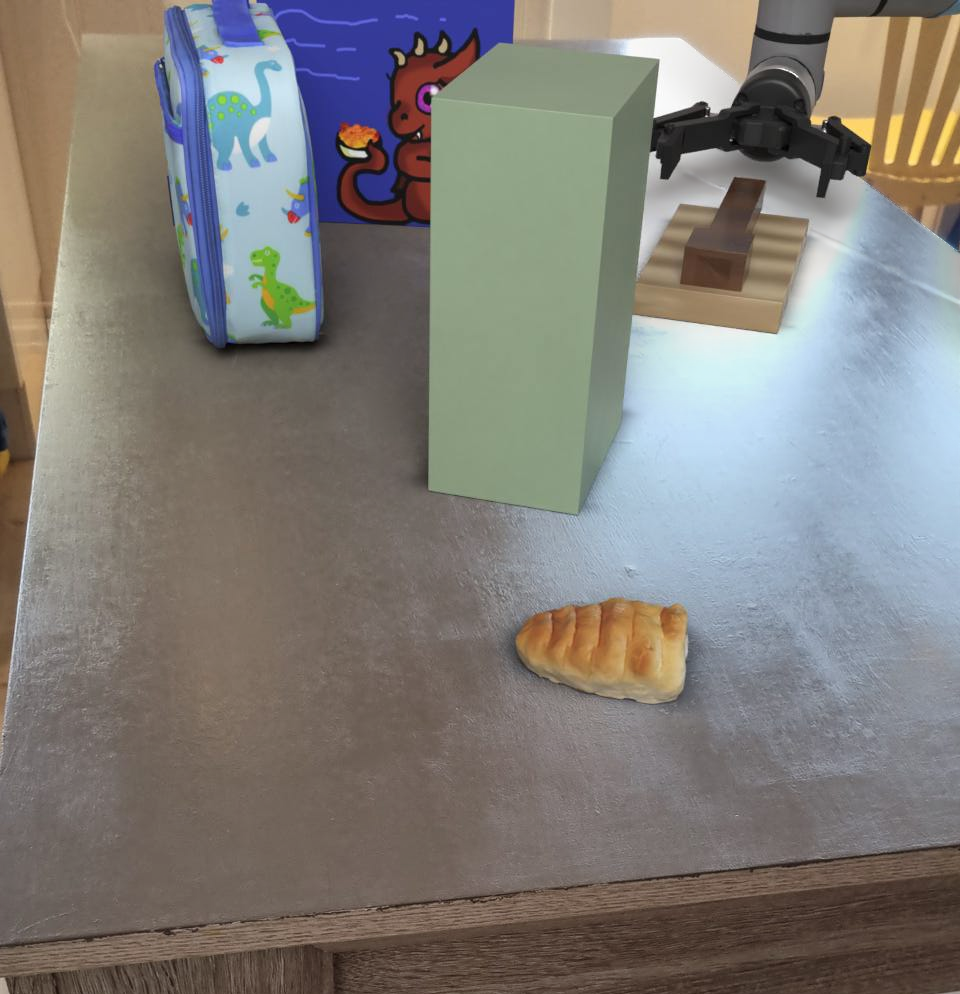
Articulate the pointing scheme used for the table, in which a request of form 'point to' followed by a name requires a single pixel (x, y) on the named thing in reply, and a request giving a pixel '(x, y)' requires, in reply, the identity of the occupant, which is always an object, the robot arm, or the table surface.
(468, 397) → the plinth
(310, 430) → the table surface
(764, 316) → the maple board
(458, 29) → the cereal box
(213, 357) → the table surface
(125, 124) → the table surface
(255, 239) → the lunch box
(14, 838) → the table surface
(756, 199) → the walnut mallet
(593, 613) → the pastry
